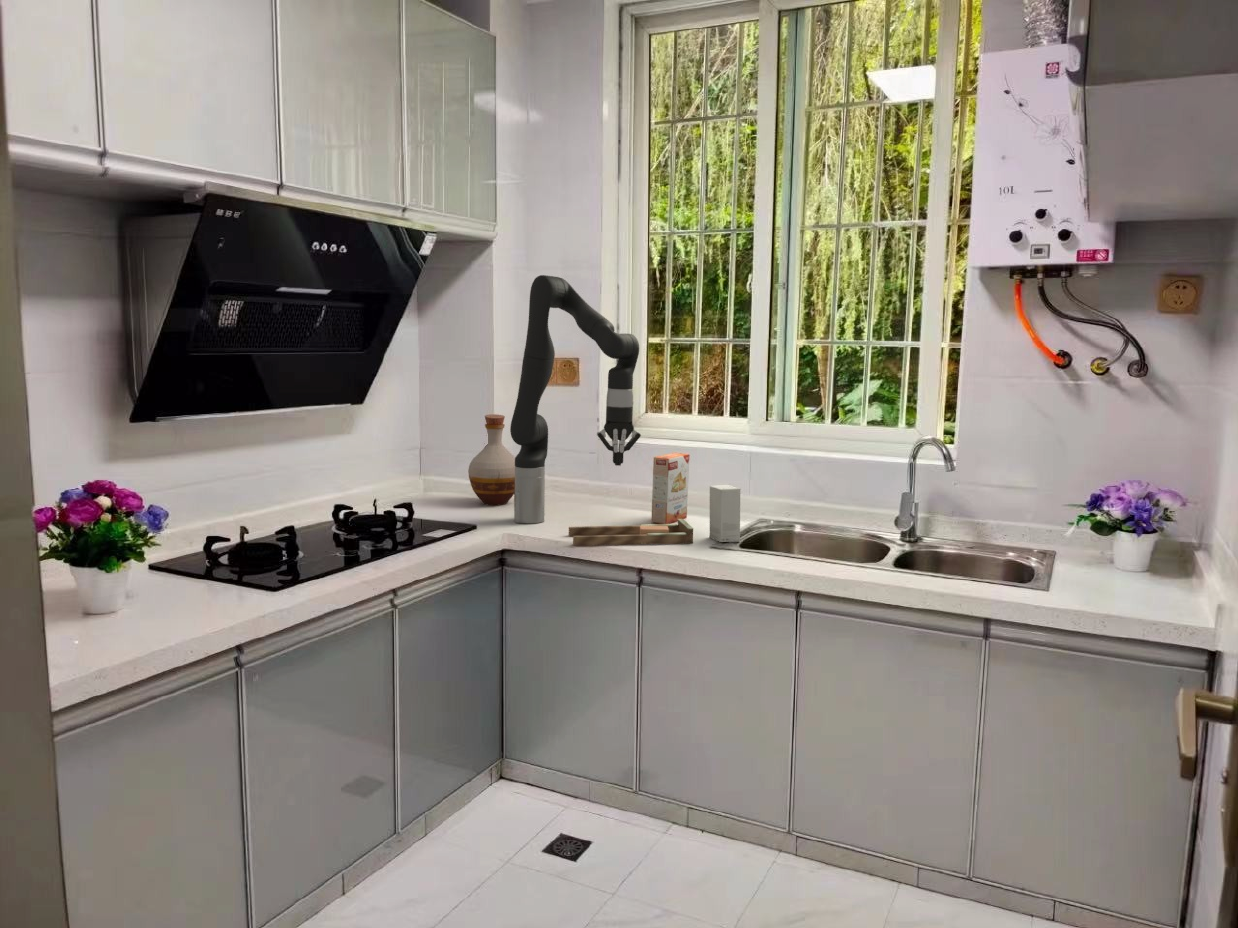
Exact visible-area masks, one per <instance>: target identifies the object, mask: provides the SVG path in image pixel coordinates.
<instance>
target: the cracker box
mask: <svg viewBox="0 0 1238 928" xmlns="http://www.w3.org/2000/svg"><path fill="white" fill-rule="evenodd" d="M652 463H653V468H652V470H653V471H652V491H651V493H652V496H651V517H650V518H651V520H650V522H651V523H652V524H673V523H674V522H678V519H684V520H685V519H686V518H687V517H688V498H689V495H688V494H689V477H690V476H689V475H690V474H689V473H690V454H689V453H686V452H685V453H683V452H671V453H667V454H661V455H658V456H653V462H652Z"/></svg>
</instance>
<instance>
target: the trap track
mask: <svg viewBox="0 0 1238 928" xmlns="http://www.w3.org/2000/svg"><path fill="white" fill-rule="evenodd" d="M640 525H650V526H668V529H669V533H647V534H640ZM568 537H572V543H573V544H572V545H573V546H574V547H579V546H580V547H581V546H582V547H584V546H627V545H633V546H634V545H667V544H669V545H673V544H674V545H676V544H693V543H694V527H692V525H691V524H689V523H688V522H687V521H686V519H685V518H684V519H678V521H677V523H669V524H658V523H652V524H651V523H650V524H649V523H648V524H645V523H644V524H643V523H641V524H638V525H597V526H596V525H595V526H592V525H591V526H568Z"/></svg>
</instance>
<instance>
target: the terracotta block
mask: <svg viewBox="0 0 1238 928" xmlns="http://www.w3.org/2000/svg"><path fill="white" fill-rule="evenodd" d="M639 525H640V524H639ZM647 533H669V529H668V526H650V525H640V534H647Z"/></svg>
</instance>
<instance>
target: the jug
mask: <svg viewBox="0 0 1238 928" xmlns="http://www.w3.org/2000/svg"><path fill="white" fill-rule="evenodd" d="M505 417H506V416H505V415H503V414H498V413H495V414H494V413H493V414H486V415H484V418H485V424H484V427H485V429H486V434H488V444H487V445H486V446H485V447H484V446H483V448H482V450H481V451H479V453H477V454H476V455H475V457H473V458H472V460H471V461H470V463H469V465H468V468H467V469H468V471H467V472H468V480H469V483H470V486H471V488H472V490H473V492H474V494H475V495H476V497H477V498H478V499H479V501H481V503H482V504H483V503H484V504H483V505H486V504H488V505H487V506H503V505H507V504H508V503H509V501H510V500H511V499H512V497H514V489H515V457H516V456H514V455H513V454H512V453H511V452H510V451H509V450H508V448H506V447H505V446H504V445H503V441H502V439H503V430H504V428H505V424H504V422H505Z"/></svg>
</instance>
